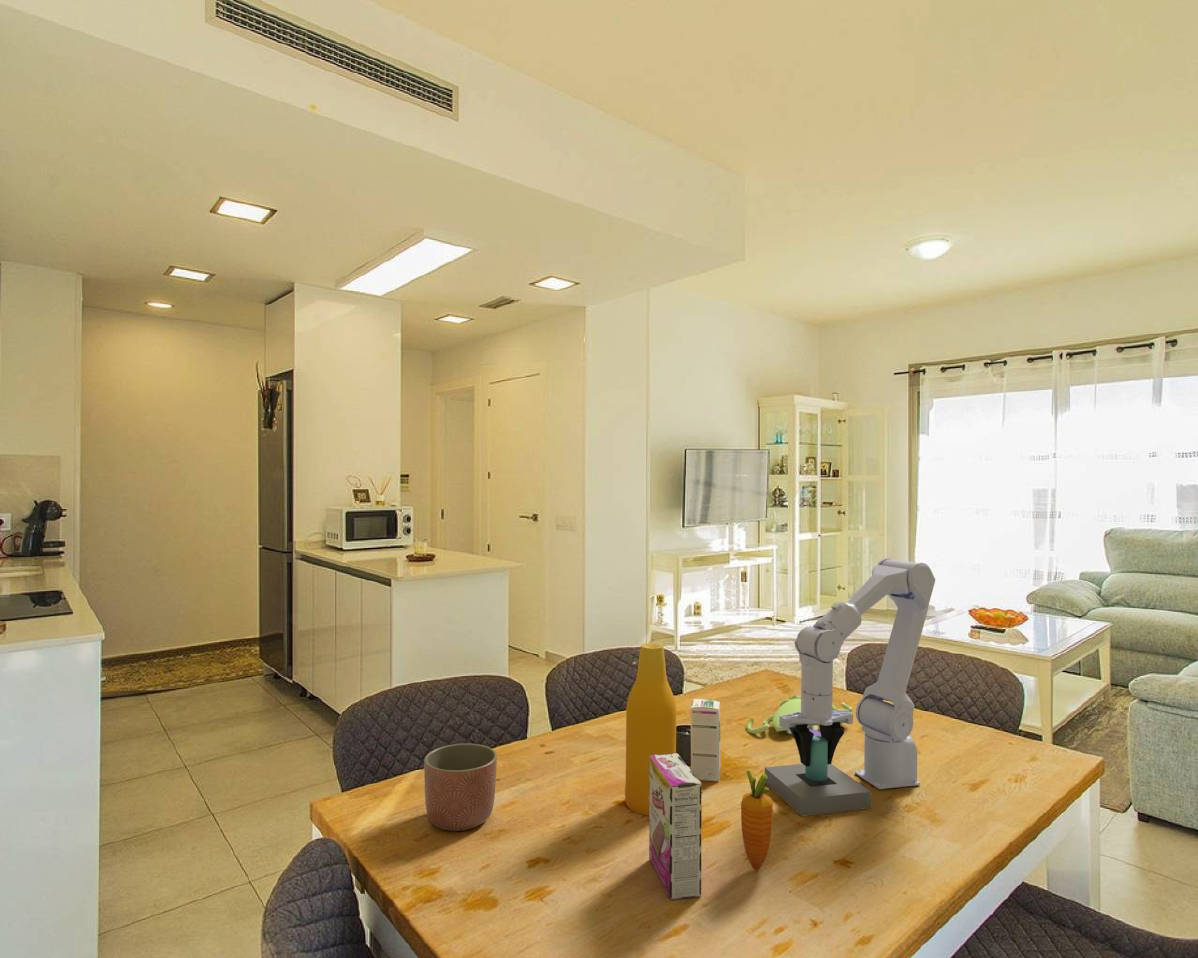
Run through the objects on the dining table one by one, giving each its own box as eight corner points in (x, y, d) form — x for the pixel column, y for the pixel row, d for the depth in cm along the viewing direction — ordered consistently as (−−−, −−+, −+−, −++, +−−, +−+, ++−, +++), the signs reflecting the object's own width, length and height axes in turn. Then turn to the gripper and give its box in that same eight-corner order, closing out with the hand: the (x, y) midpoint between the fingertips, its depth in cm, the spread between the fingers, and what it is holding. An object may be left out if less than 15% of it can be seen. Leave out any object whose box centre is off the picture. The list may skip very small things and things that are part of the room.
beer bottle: (618, 811, 123) (620, 648, 123) (633, 790, 132) (635, 638, 132) (668, 820, 120) (670, 653, 120) (680, 798, 128) (682, 642, 129)
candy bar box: (646, 859, 107) (647, 754, 107) (677, 856, 108) (678, 751, 108) (668, 902, 96) (670, 784, 96) (702, 898, 97) (703, 781, 98)
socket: (827, 776, 139) (827, 761, 139) (871, 807, 125) (871, 791, 125) (764, 782, 136) (764, 767, 136) (802, 816, 122) (802, 799, 122)
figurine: (859, 723, 172) (859, 700, 172) (812, 753, 152) (812, 727, 152) (791, 706, 184) (791, 685, 184) (738, 732, 164) (739, 708, 164)
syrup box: (719, 782, 136) (720, 708, 136) (689, 779, 137) (690, 706, 137) (720, 770, 141) (721, 699, 141) (691, 767, 142) (692, 697, 142)
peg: (818, 770, 133) (819, 734, 133) (831, 779, 129) (832, 742, 129) (801, 773, 132) (801, 736, 132) (813, 782, 128) (813, 744, 128)
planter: (433, 844, 111) (434, 776, 111) (415, 811, 122) (416, 749, 122) (506, 827, 117) (507, 763, 117) (483, 797, 128) (484, 738, 128)
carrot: (735, 862, 107) (736, 765, 107) (766, 861, 107) (767, 764, 107) (745, 880, 102) (746, 778, 102) (777, 879, 102) (778, 778, 102)
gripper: (793, 700, 125) (792, 775, 125) (863, 695, 129) (862, 768, 128) (774, 688, 132) (773, 760, 132) (841, 684, 135) (840, 753, 135)
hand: (815, 763), depth 131 cm, fingers closed on peg, 4 cm apart
